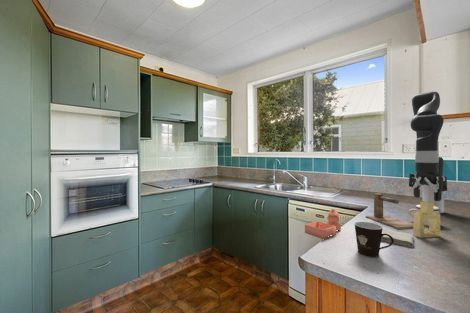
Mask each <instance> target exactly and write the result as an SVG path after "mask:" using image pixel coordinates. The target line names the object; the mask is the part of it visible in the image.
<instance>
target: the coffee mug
mask: <svg viewBox="0 0 470 313" xmlns="http://www.w3.org/2000/svg"><path fill="white" fill-rule="evenodd" d="M382 229H384V228H383V225H381V224H378V223H374V222H370V221H369V222H368V221H357V222H354V230H355V239H356V244H357V245H356V246H357V252H358V254H360V255H362V256H364V257H368V258H379V256H380V250H383V249H386V248H390V247H391V246H393V245H394V244H395V243H394V240H393V238H392V236H390V235H389V234H386V233H384V234H382ZM384 235H387V236H389V237H390V238H391V241H392V242H391V243H389V244H388V245H386V246H385V245H384V246H381V243H382V241H381V238H382V236H384Z"/></svg>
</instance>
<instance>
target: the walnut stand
mask: <svg viewBox="0 0 470 313" xmlns="http://www.w3.org/2000/svg"><path fill="white" fill-rule="evenodd" d="M384 202H387V203H393V204H396V205H398V204H399V203H400V201H399V200H398V199H395V198H390V197H387V196H384V193H376V192H375V193H373V215H372V214H371V215H365V218H367V219H370V220H373V221H374V222H377V223H380V224H382V225H384V226H388V227H390V228H393V229H395V230H405V229H406V230H408V229H413V223H409V222H406V221H404V220H400V219H398V218H394V217H392V216H388V215H385V214H384Z"/></svg>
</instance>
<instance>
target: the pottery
mask: <svg viewBox="0 0 470 313" xmlns="http://www.w3.org/2000/svg"><path fill="white" fill-rule="evenodd" d="M327 215H328V216H327V217H326V218H327V222H322V221H320V220H319V221H318V220H317V221H316V220H315V221H311V222H309V223H306V224H305V223H304V234H307V235H310V236H312V237H316V238H317V239H318V238H319V239H321V240H325V239H328V238H327V237H328V236H329V238H331V237H330V235H332V237H334V236H335V235H334V234H336V235H337V232H336V230H340V231H341V230H342V227H341V223H339V222H340V217H339V215H340V213H339V212H337V211H336V209H334V208H332V209H331V210H330V211H327ZM333 235H334V236H333Z"/></svg>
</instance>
